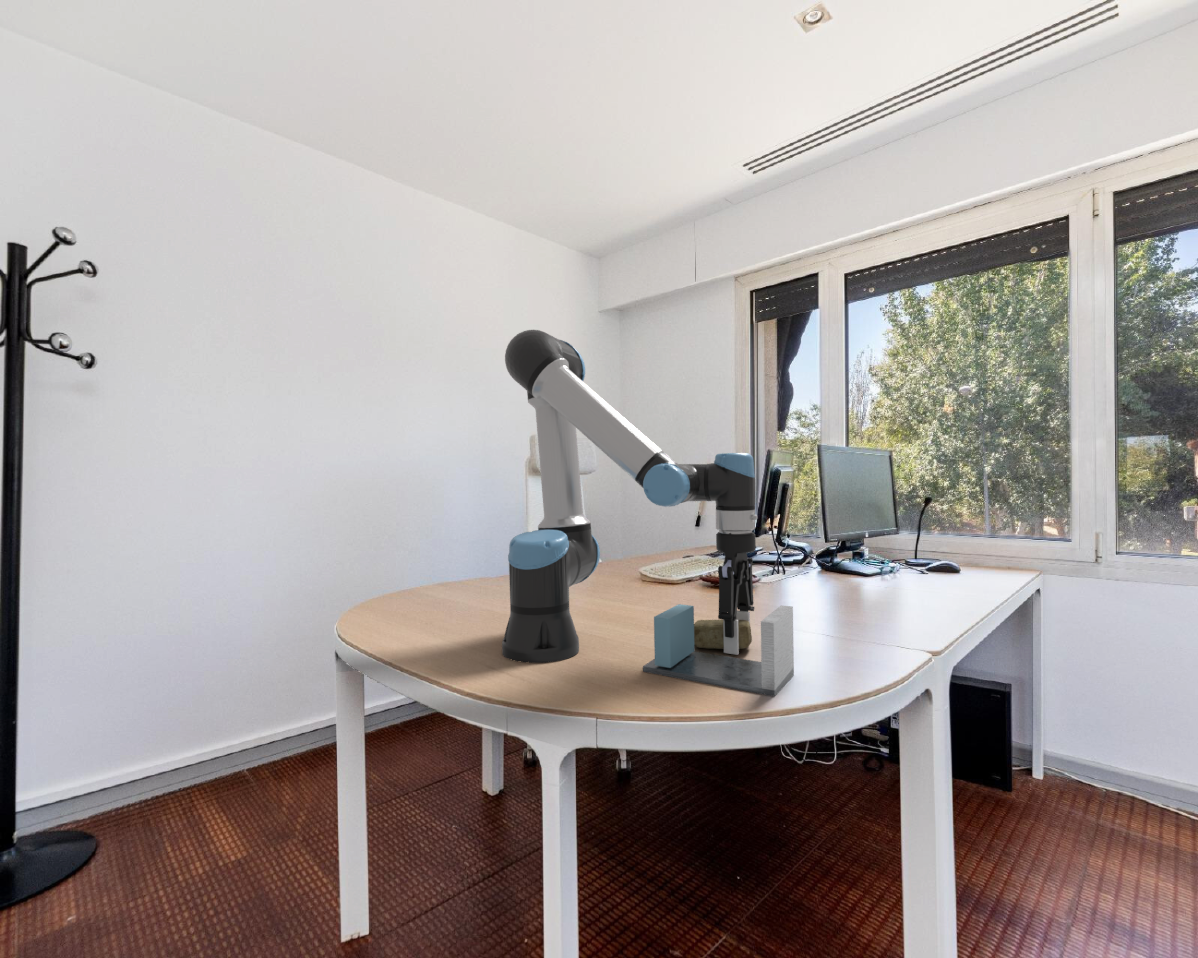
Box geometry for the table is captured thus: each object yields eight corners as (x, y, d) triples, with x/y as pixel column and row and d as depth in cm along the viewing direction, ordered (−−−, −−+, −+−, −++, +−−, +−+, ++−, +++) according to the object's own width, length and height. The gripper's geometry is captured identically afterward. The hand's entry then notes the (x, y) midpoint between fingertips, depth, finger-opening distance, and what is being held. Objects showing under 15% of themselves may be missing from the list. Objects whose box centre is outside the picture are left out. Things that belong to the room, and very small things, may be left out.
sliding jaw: (654, 665, 101) (653, 616, 101) (679, 648, 110) (678, 604, 110) (670, 667, 100) (669, 618, 99) (694, 650, 109) (693, 605, 108)
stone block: (751, 651, 110) (748, 624, 110) (691, 650, 114) (688, 625, 114) (753, 642, 116) (750, 617, 116) (696, 642, 120) (693, 618, 120)
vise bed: (642, 674, 102) (641, 606, 101) (671, 655, 112) (670, 593, 112) (774, 700, 89) (773, 623, 89) (793, 675, 100) (792, 606, 99)
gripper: (738, 537, 103) (740, 665, 104) (768, 527, 120) (770, 638, 120) (698, 535, 107) (700, 659, 108) (733, 526, 124) (735, 633, 124)
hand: (737, 647), depth 114 cm, fingers closed on stone block, 6 cm apart
